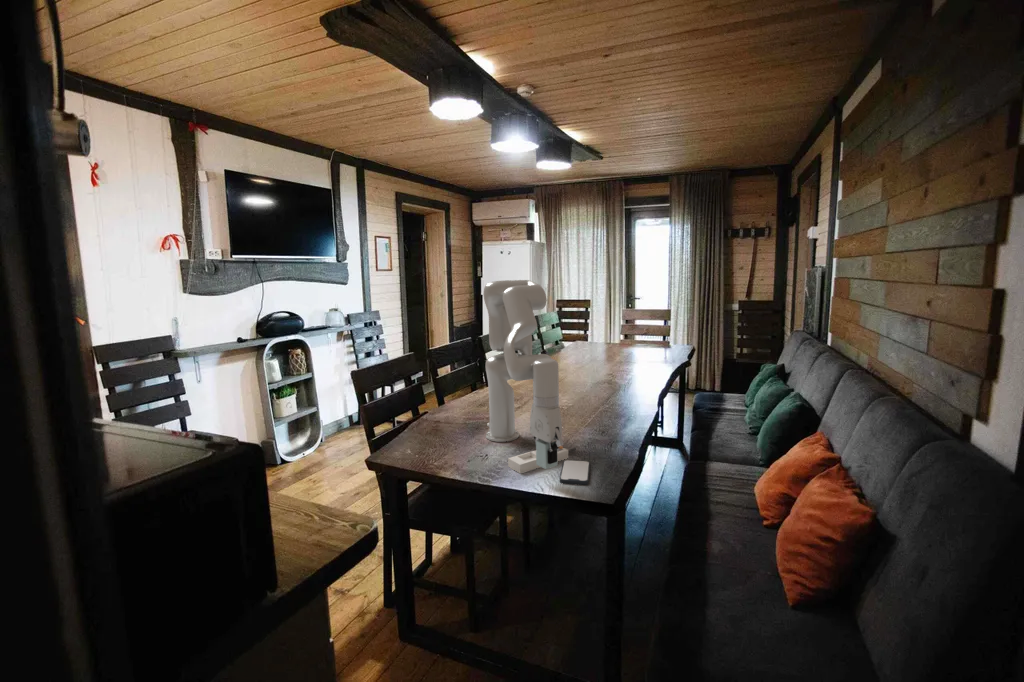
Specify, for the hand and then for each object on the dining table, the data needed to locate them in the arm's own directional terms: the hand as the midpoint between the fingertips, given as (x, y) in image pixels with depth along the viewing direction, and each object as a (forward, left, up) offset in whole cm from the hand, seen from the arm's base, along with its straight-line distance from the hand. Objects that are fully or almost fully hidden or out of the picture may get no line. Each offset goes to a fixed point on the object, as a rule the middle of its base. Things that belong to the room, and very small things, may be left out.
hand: (546, 459), depth 149 cm
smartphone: (0, +11, -8) cm, 14 cm away
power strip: (-13, +10, -7) cm, 18 cm away
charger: (0, 0, -2) cm, 2 cm away
